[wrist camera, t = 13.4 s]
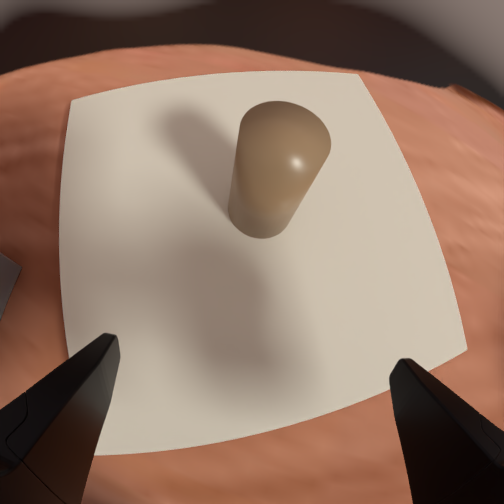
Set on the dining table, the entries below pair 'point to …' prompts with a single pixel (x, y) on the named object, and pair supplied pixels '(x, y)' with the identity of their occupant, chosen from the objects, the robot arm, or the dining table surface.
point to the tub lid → (245, 254)
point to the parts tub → (7, 279)
